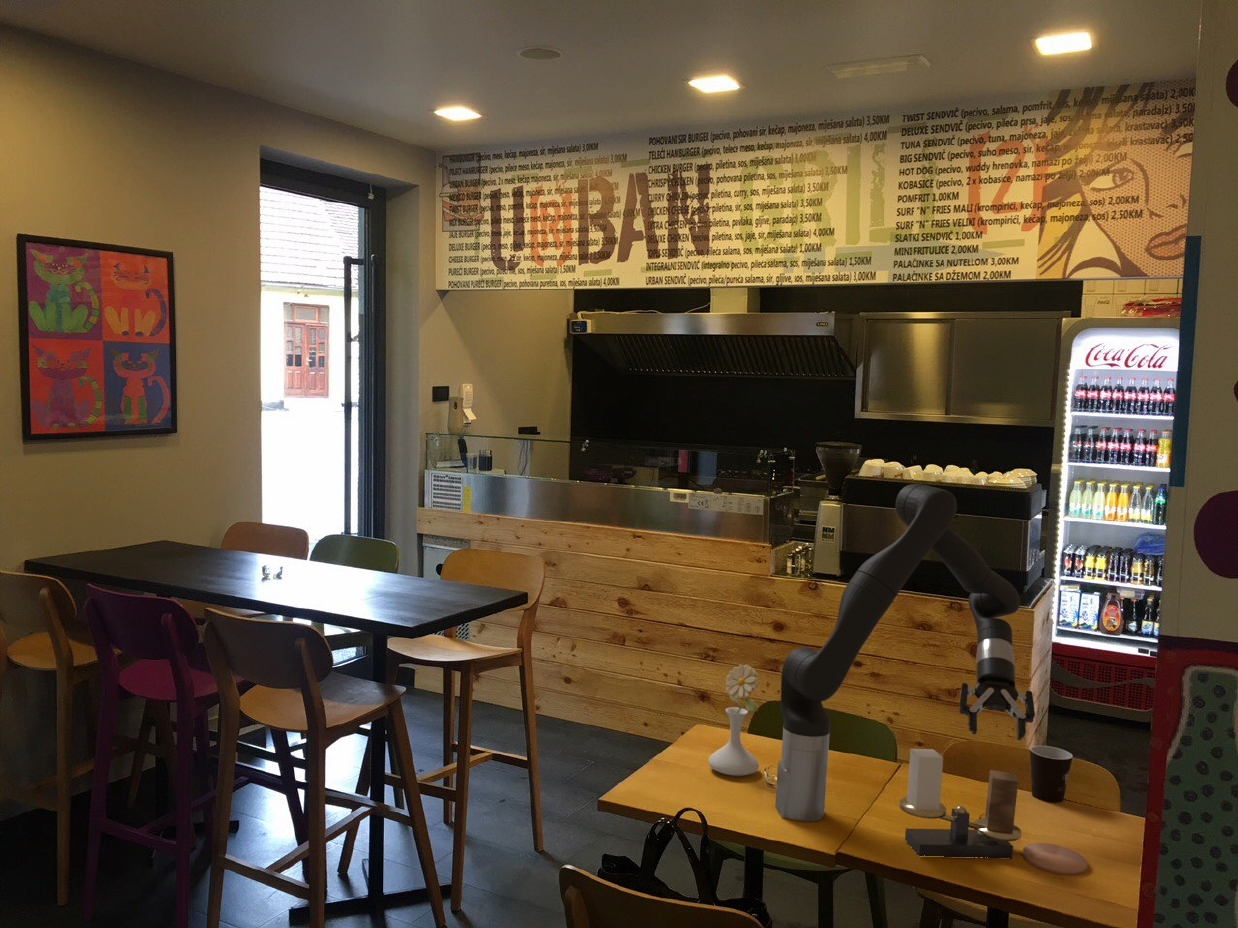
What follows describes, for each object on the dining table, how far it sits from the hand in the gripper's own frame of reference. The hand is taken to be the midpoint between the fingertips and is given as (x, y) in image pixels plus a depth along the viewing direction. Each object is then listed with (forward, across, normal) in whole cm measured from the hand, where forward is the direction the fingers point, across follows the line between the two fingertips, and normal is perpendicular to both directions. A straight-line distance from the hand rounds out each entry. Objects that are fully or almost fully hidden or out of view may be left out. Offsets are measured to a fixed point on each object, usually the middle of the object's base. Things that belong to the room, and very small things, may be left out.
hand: (997, 735), depth 200 cm
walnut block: (+18, 0, +2) cm, 18 cm away
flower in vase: (+6, -53, +20) cm, 57 cm away
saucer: (+22, +10, +5) cm, 25 cm away
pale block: (+19, -14, -4) cm, 24 cm away
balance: (+23, -7, +4) cm, 24 cm away
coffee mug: (-4, +15, +30) cm, 34 cm away
